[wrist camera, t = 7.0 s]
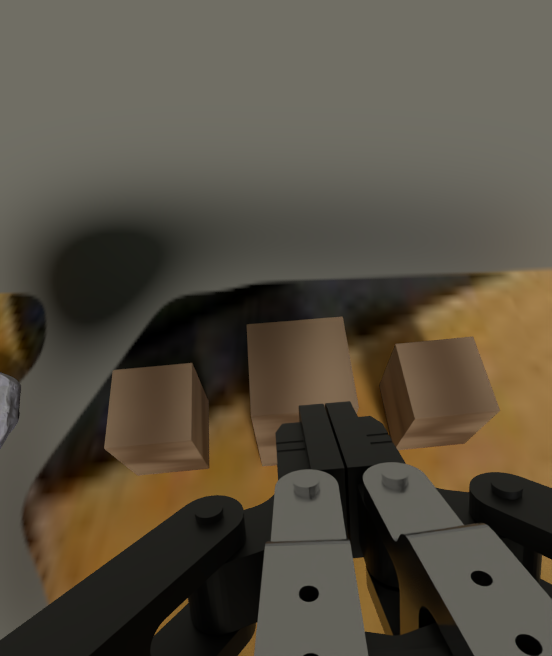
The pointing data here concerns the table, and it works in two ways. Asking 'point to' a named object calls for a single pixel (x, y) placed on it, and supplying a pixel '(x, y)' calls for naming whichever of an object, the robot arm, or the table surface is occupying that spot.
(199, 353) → the table surface
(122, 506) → the table surface
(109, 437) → the block seven
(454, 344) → the block one
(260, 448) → the plain pillar
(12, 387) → the stone block
